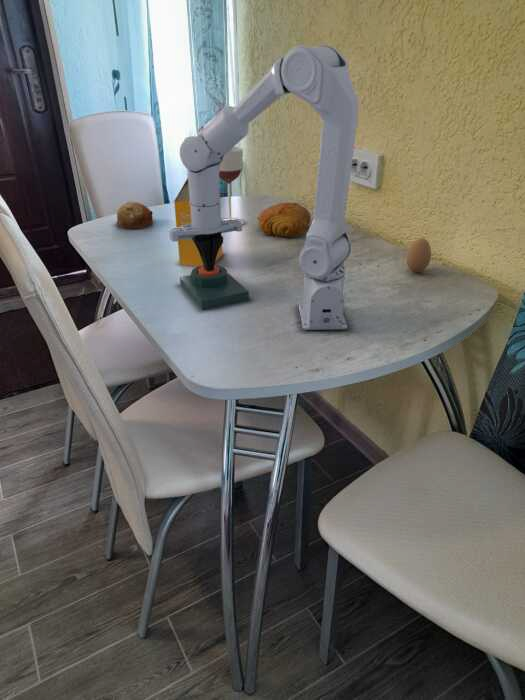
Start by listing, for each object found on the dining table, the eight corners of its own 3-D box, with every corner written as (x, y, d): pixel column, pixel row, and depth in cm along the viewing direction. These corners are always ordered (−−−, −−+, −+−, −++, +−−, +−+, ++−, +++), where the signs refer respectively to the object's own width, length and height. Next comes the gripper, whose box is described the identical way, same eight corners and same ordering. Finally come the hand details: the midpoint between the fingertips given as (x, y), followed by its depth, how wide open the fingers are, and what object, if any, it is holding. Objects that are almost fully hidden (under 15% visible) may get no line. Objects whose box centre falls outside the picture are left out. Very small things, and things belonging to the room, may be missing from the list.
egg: (399, 270, 115) (404, 236, 110) (416, 266, 117) (422, 232, 113) (415, 278, 111) (421, 243, 107) (432, 274, 113) (439, 239, 109)
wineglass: (211, 226, 142) (207, 151, 131) (222, 217, 149) (219, 145, 138) (238, 229, 140) (236, 152, 129) (248, 219, 147) (247, 147, 136)
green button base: (248, 300, 101) (248, 282, 99) (202, 310, 97) (200, 291, 95) (223, 277, 111) (223, 260, 109) (180, 285, 107) (178, 268, 105)
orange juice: (223, 254, 123) (219, 169, 113) (210, 267, 116) (205, 177, 105) (193, 251, 125) (187, 167, 114) (178, 264, 118) (170, 175, 107)
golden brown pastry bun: (313, 230, 145) (316, 202, 142) (303, 240, 131) (306, 209, 128) (264, 225, 148) (266, 197, 145) (250, 234, 134) (252, 203, 131)
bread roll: (122, 232, 148) (106, 209, 143) (151, 213, 149) (136, 189, 144) (129, 242, 141) (113, 218, 136) (160, 222, 142) (145, 198, 137)
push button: (223, 281, 104) (223, 271, 103) (203, 285, 102) (202, 274, 101) (215, 274, 107) (214, 263, 106) (195, 277, 105) (195, 267, 104)
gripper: (231, 193, 102) (233, 257, 109) (162, 202, 97) (168, 268, 104) (246, 202, 97) (247, 268, 104) (173, 211, 91) (179, 281, 98)
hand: (208, 269), depth 103 cm, fingers closed, pressing on push button
